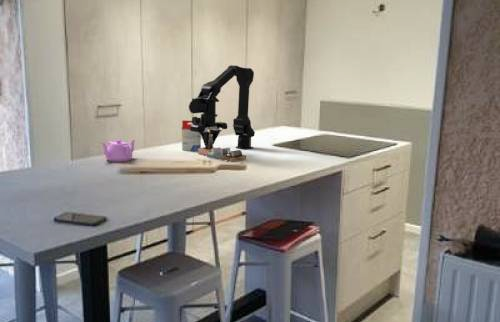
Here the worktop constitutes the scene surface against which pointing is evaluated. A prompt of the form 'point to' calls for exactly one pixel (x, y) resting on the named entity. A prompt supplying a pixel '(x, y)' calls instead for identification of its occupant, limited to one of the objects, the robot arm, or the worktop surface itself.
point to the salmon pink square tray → (203, 151)
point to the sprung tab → (224, 151)
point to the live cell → (234, 154)
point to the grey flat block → (215, 153)
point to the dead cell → (210, 141)
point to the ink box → (190, 137)
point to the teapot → (118, 151)
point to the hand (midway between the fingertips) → (209, 145)
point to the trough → (234, 158)
